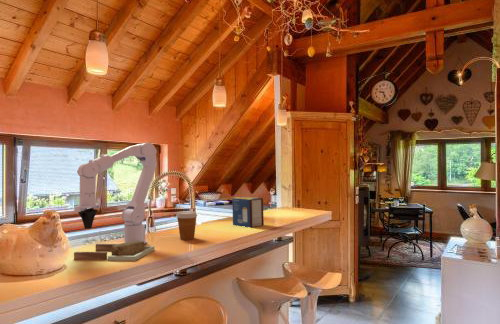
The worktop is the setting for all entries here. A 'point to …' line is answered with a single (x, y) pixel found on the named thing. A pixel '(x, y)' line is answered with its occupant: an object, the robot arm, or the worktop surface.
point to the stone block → (128, 248)
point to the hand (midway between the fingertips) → (88, 228)
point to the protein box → (248, 211)
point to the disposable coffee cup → (186, 225)
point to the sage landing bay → (132, 258)
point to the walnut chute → (94, 253)
